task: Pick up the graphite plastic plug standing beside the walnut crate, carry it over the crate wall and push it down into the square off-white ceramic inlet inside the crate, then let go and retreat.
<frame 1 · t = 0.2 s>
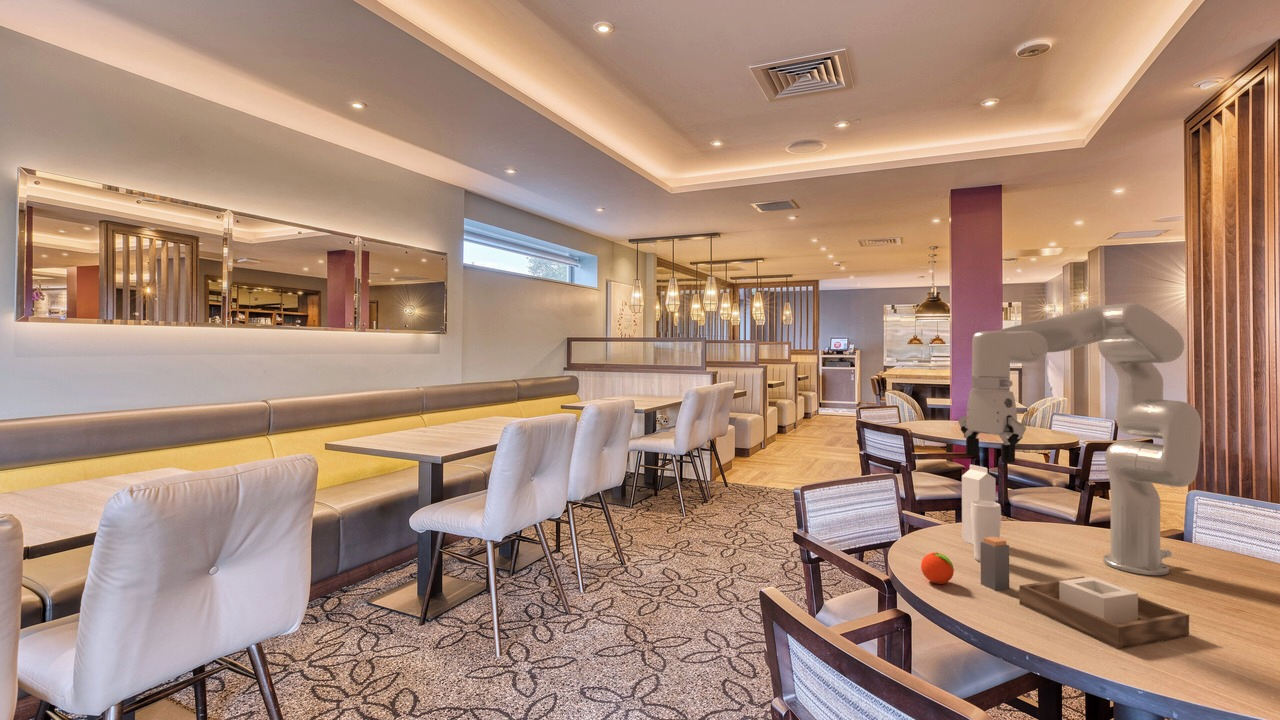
hand: (989, 458, 133), 30 cm above the table, fingers open, 9 cm apart
milk: (978, 543, 164), on the table
inlet: (1097, 616, 118), resting on crate
plug: (994, 586, 133), on the table
crate: (1099, 619, 116), on the table
clementine: (939, 584, 135), on the table
drinking glass: (985, 561, 150), on the table
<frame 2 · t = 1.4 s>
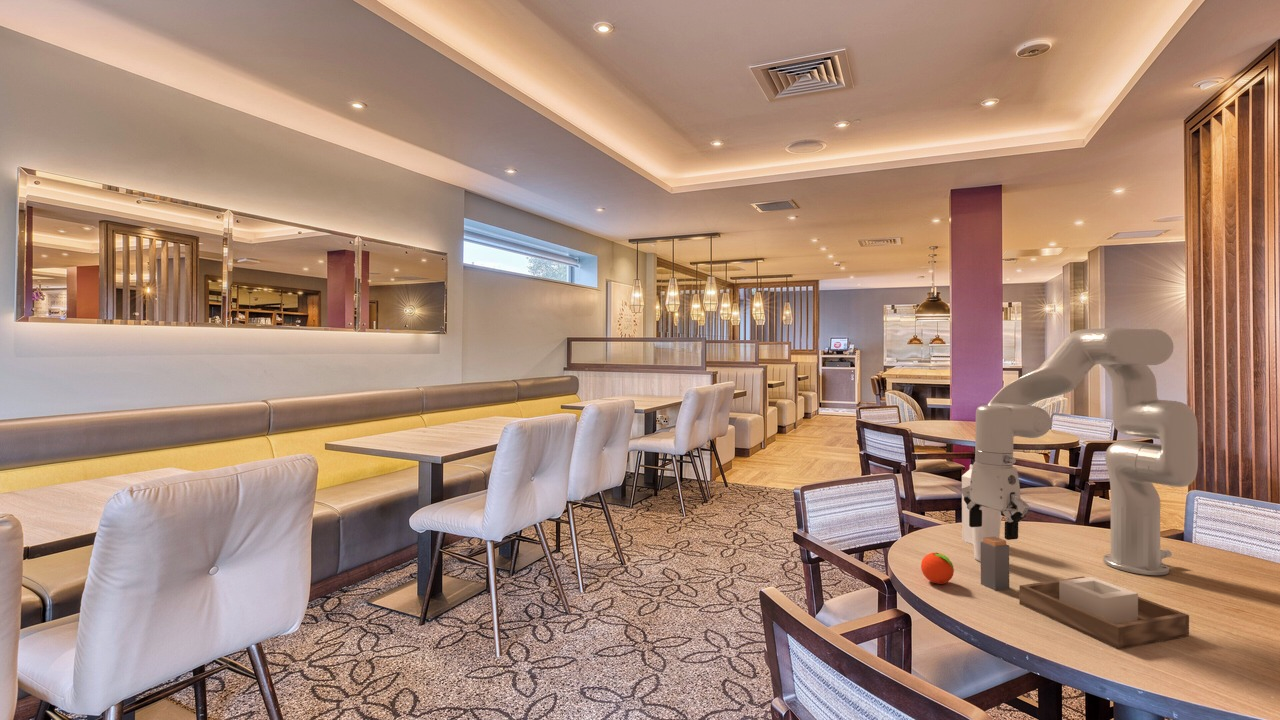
hand: (992, 532, 133), 13 cm above the table, fingers open, 9 cm apart
nothing on the table moved.
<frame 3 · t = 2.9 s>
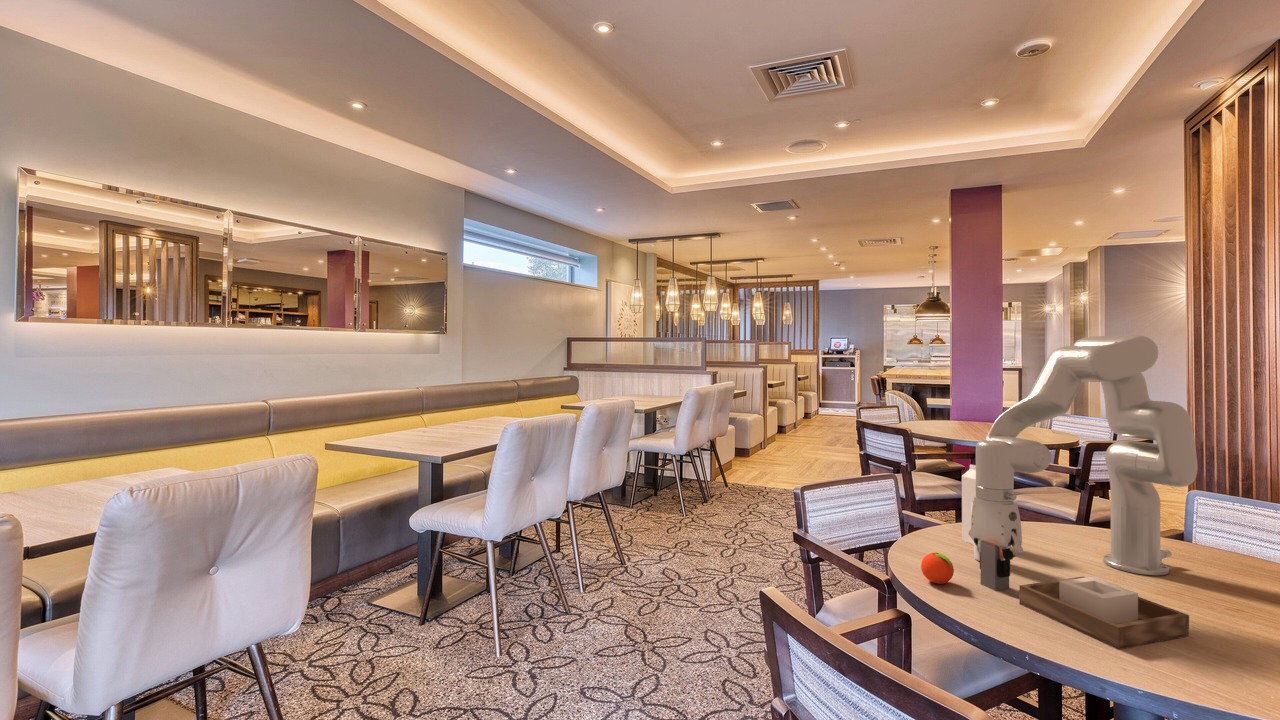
hand: (994, 572, 133), 3 cm above the table, fingers closed on plug, 4 cm apart
plug: (994, 586, 133), on the table, touching gripper
everything else where it was.
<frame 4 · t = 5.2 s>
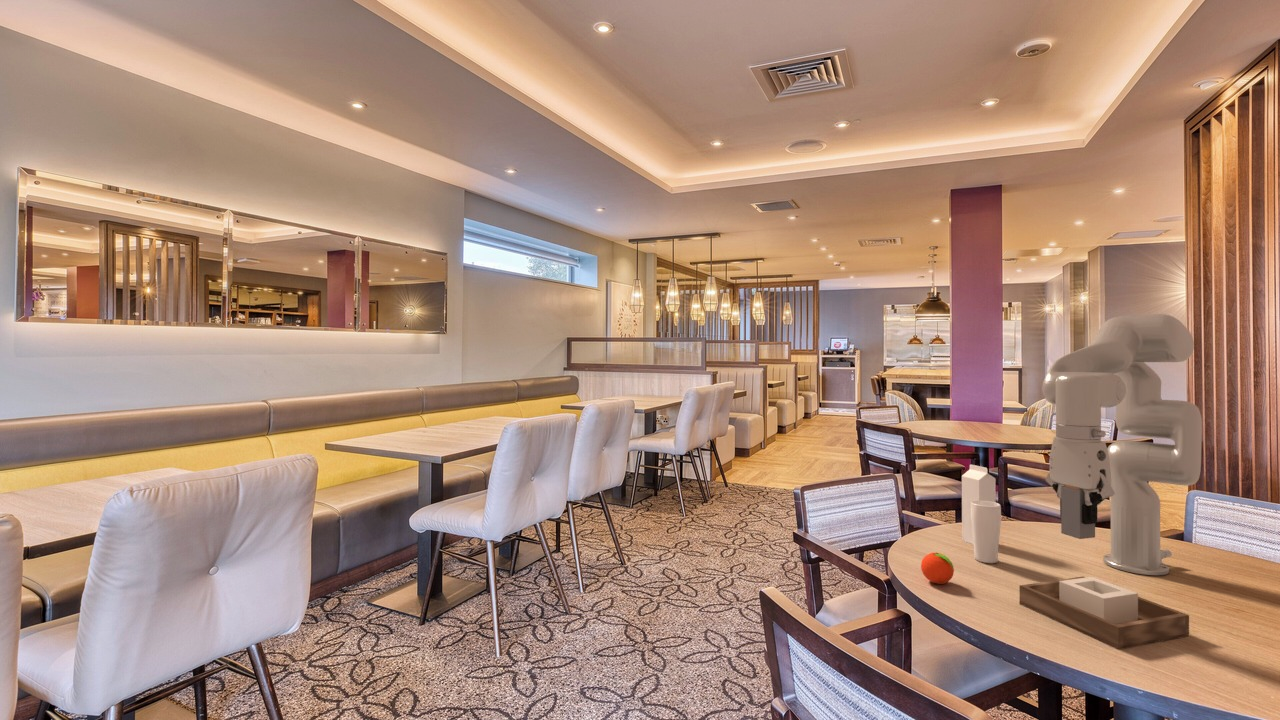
hand: (1078, 519, 120), 19 cm above the table, fingers closed on plug, 4 cm apart
plug: (1078, 535, 120), point 16 cm above the table, touching gripper
everything else where it was.
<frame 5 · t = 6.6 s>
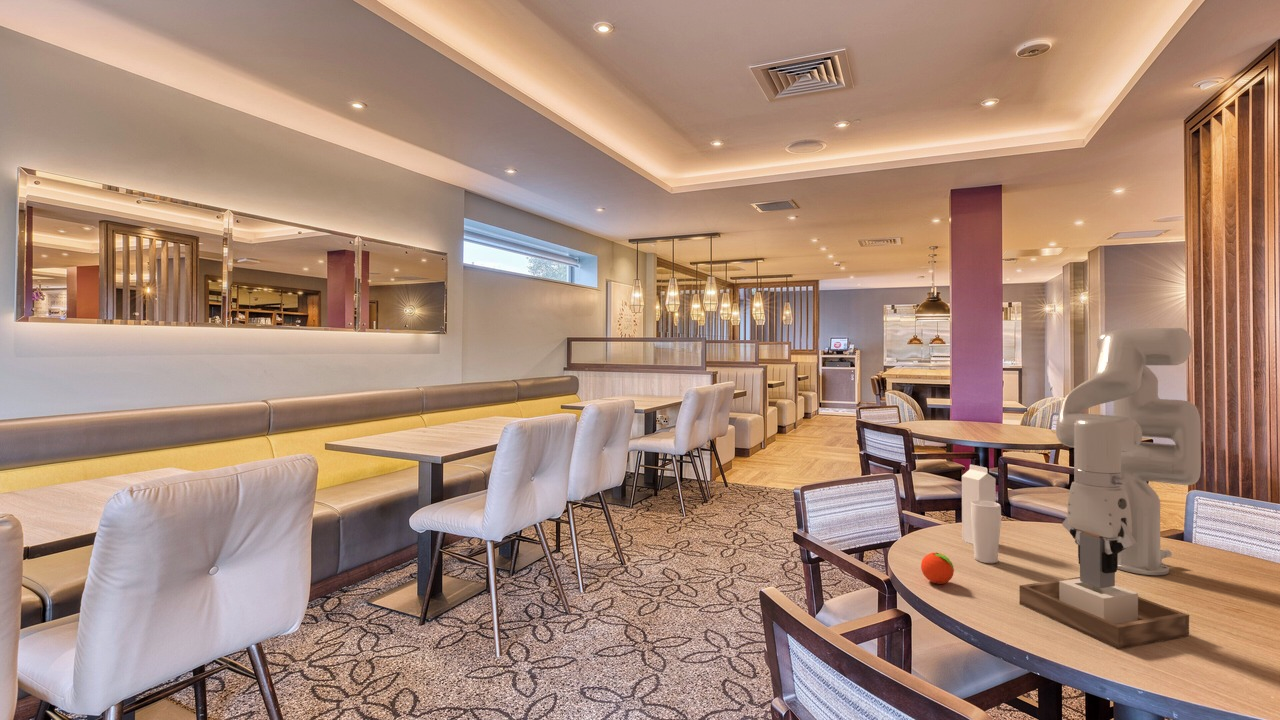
hand: (1097, 567, 117), 10 cm above the table, fingers closed on plug, 4 cm apart
plug: (1097, 583, 117), point 7 cm above the table, touching gripper
everything else where it was.
when the fingers open (6 cm above the table, at t = 7.8 s): plug stays where it is, resting on inlet.
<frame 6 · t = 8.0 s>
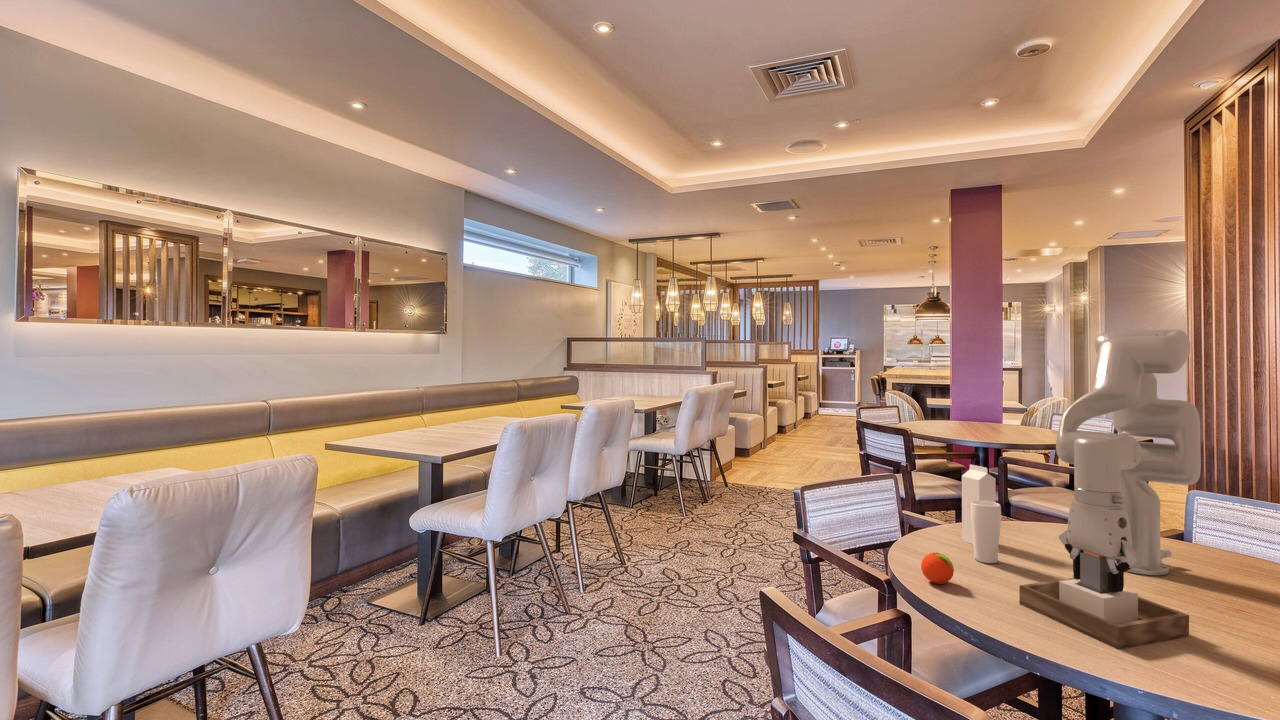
hand: (1097, 584, 118), 7 cm above the table, fingers open, 6 cm apart
plug: (1097, 603, 118), point 3 cm above the table, touching inlet
everything else where it was.
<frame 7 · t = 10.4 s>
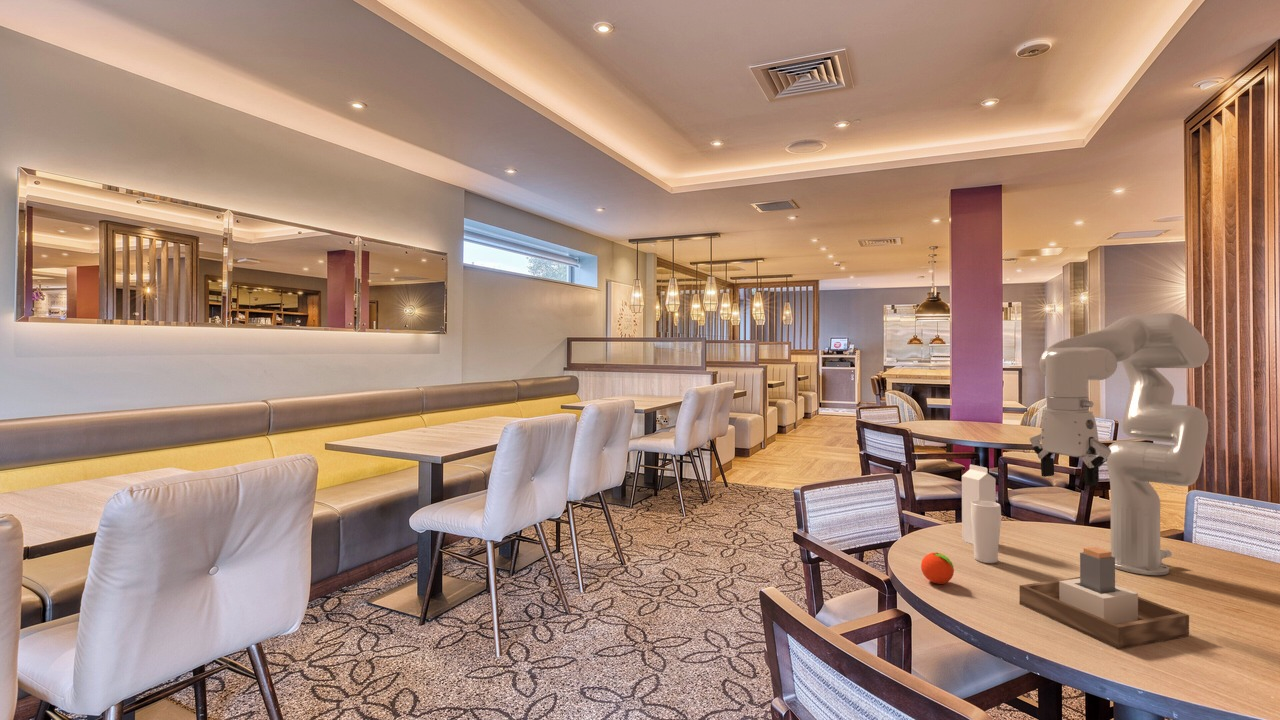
hand: (1068, 480, 129), 25 cm above the table, fingers open, 9 cm apart
nothing on the table moved.
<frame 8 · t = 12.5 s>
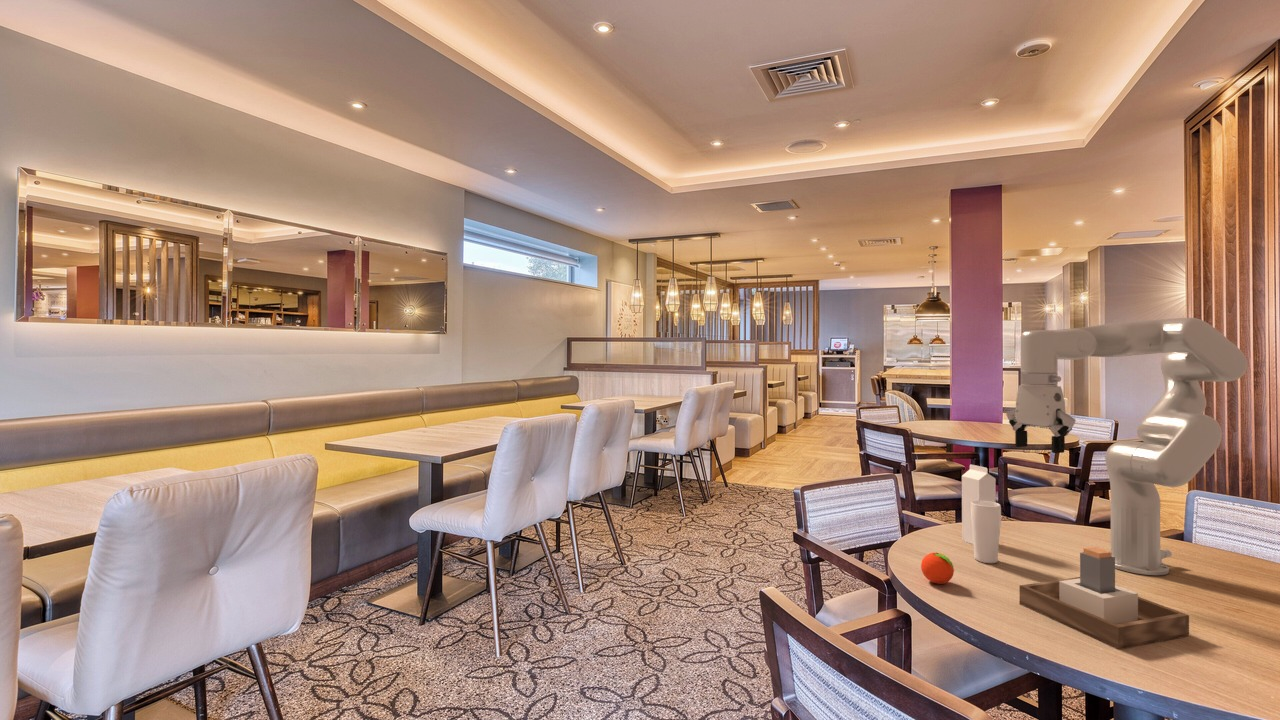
hand: (1039, 449, 142), 30 cm above the table, fingers open, 9 cm apart
nothing on the table moved.
at the end: plug 0.0 cm off-centre on the inlet, point 2.6 cm above the inlet's base; plug tilted 0°; the gripper is holding nothing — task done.
